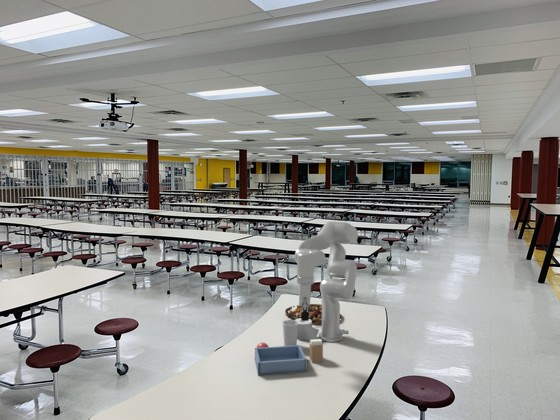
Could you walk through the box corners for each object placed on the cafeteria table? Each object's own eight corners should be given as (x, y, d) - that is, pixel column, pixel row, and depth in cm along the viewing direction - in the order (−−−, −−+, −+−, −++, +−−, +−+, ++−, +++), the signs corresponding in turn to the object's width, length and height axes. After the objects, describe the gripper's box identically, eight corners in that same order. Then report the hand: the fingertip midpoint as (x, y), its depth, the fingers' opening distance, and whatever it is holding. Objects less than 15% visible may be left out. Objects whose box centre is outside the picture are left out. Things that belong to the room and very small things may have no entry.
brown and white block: (319, 357, 184) (320, 337, 183) (322, 361, 179) (322, 342, 178) (309, 357, 183) (309, 338, 182) (312, 362, 178) (312, 342, 177)
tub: (299, 356, 184) (299, 345, 184) (306, 371, 169) (306, 359, 169) (254, 359, 181) (254, 348, 181) (258, 375, 166) (258, 363, 166)
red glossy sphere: (268, 352, 189) (268, 340, 188) (269, 357, 183) (269, 345, 182) (255, 353, 188) (255, 340, 187) (257, 358, 182) (257, 346, 182)
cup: (296, 349, 191) (297, 326, 191) (281, 348, 193) (281, 324, 192) (299, 343, 199) (299, 320, 198) (284, 342, 201) (284, 319, 200)
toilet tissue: (318, 341, 202) (318, 325, 201) (293, 339, 204) (293, 323, 203) (319, 334, 210) (319, 318, 210) (295, 333, 213) (295, 317, 212)
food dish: (278, 325, 228) (278, 312, 228) (293, 308, 260) (292, 297, 260) (338, 329, 218) (337, 316, 218) (345, 312, 250) (345, 300, 249)
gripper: (297, 274, 185) (297, 310, 186) (296, 284, 168) (296, 323, 169) (313, 275, 184) (313, 310, 185) (313, 285, 167) (313, 323, 168)
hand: (305, 316), depth 177 cm, fingers open, 9 cm apart
